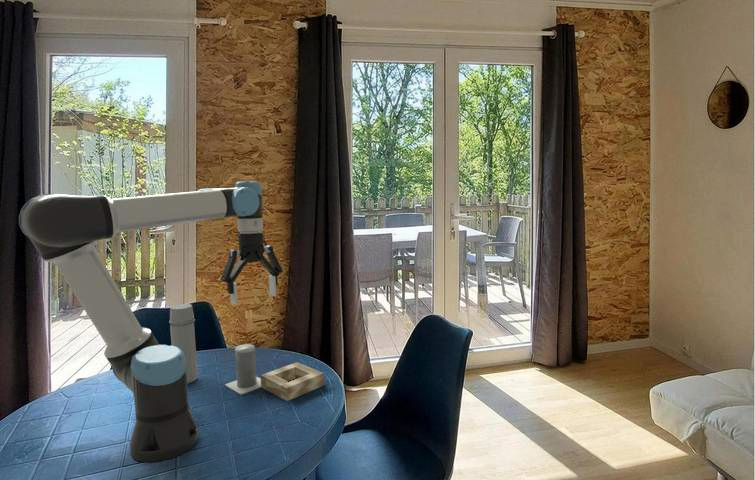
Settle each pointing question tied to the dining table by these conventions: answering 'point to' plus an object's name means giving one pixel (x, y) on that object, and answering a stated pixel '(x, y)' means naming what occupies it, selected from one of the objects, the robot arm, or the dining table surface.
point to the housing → (302, 384)
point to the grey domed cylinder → (245, 365)
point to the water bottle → (184, 336)
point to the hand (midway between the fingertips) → (254, 299)
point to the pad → (244, 390)
